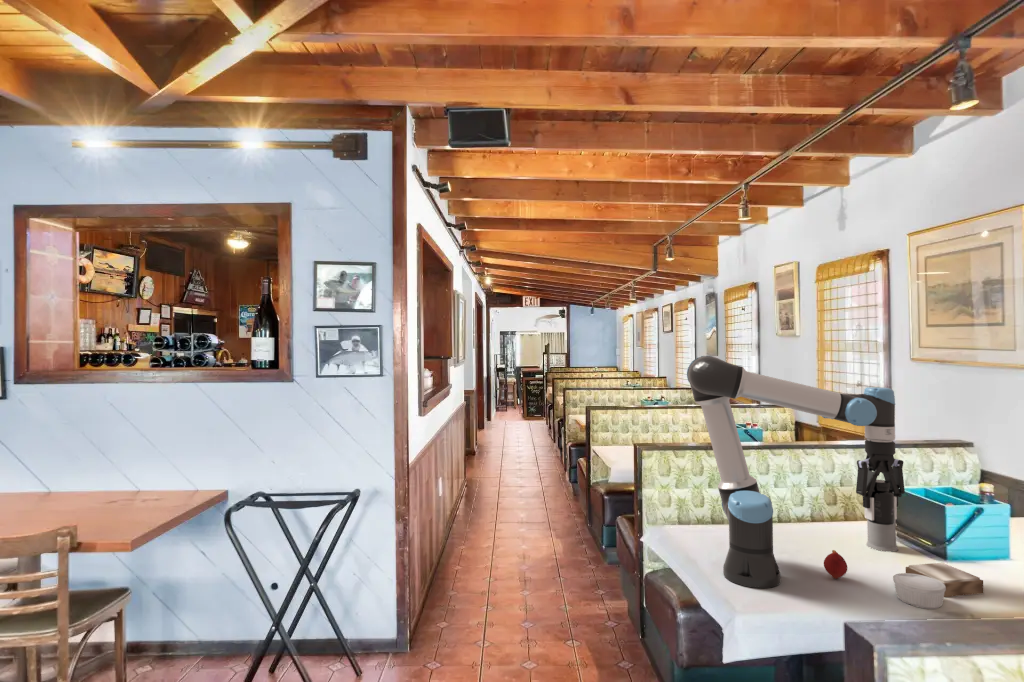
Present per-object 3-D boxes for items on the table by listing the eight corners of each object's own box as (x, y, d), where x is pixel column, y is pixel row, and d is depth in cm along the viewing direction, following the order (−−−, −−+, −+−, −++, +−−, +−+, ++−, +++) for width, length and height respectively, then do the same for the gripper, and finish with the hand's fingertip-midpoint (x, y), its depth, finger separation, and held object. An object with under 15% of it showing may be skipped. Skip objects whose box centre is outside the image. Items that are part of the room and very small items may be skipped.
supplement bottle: (900, 525, 163) (899, 483, 163) (876, 525, 163) (875, 483, 163) (885, 518, 170) (884, 478, 170) (862, 518, 170) (861, 478, 170)
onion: (845, 575, 163) (844, 548, 163) (849, 583, 158) (849, 554, 158) (822, 573, 165) (821, 545, 165) (826, 581, 160) (825, 552, 160)
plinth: (944, 597, 149) (944, 581, 149) (905, 579, 160) (905, 564, 160) (983, 593, 150) (983, 578, 151) (942, 575, 162) (942, 561, 162)
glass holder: (866, 548, 185) (865, 502, 185) (866, 536, 197) (865, 493, 197) (898, 553, 180) (897, 506, 181) (896, 540, 192) (895, 496, 193)
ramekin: (924, 591, 152) (923, 571, 152) (958, 610, 141) (957, 589, 141) (883, 592, 152) (882, 572, 152) (914, 611, 141) (913, 590, 141)
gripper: (859, 443, 161) (860, 524, 161) (920, 441, 165) (921, 520, 164) (840, 438, 169) (841, 516, 168) (898, 437, 172) (899, 513, 172)
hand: (880, 518), depth 166 cm, fingers closed on supplement bottle, 7 cm apart
